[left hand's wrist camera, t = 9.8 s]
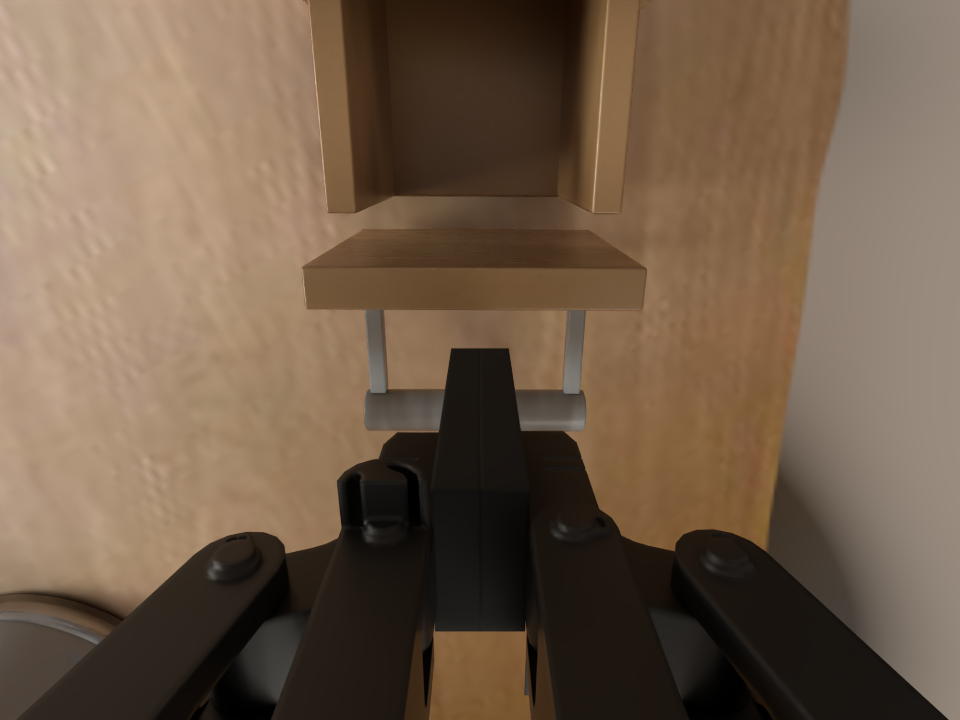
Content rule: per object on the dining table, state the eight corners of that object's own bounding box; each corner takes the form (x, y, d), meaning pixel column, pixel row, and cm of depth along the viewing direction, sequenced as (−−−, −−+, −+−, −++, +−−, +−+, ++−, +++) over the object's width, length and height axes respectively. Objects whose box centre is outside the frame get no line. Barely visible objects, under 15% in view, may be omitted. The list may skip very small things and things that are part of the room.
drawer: (578, 390, 25) (623, 496, 17) (373, 390, 25) (325, 495, 17) (623, -247, 18) (741, -577, 10) (329, -249, 17) (208, -581, 10)
